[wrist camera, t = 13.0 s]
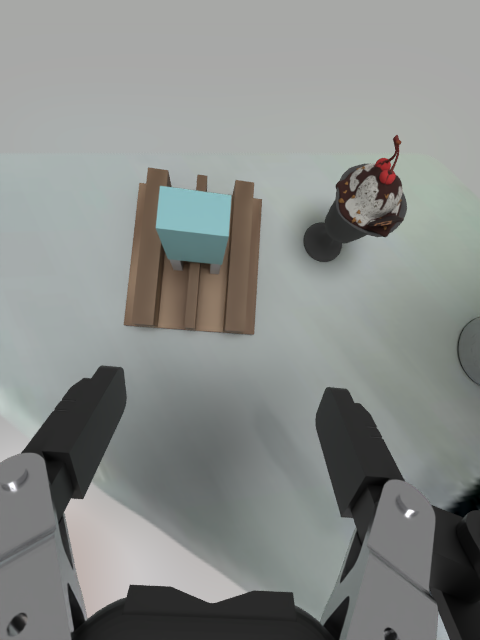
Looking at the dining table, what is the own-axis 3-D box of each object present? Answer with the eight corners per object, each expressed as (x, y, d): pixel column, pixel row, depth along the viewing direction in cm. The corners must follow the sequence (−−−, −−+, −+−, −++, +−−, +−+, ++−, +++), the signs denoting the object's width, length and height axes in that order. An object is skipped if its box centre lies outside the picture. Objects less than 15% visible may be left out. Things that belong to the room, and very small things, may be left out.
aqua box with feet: (221, 247, 31) (231, 195, 21) (219, 275, 31) (228, 236, 20) (175, 242, 31) (160, 185, 20) (172, 270, 30) (155, 228, 20)
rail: (260, 202, 33) (267, 184, 30) (252, 334, 32) (259, 332, 28) (141, 186, 32) (132, 165, 28) (125, 325, 30) (114, 322, 26)
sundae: (307, 207, 34) (387, 100, 19) (355, 231, 35) (468, 145, 20) (287, 253, 33) (356, 178, 18) (336, 277, 34) (440, 222, 19)
